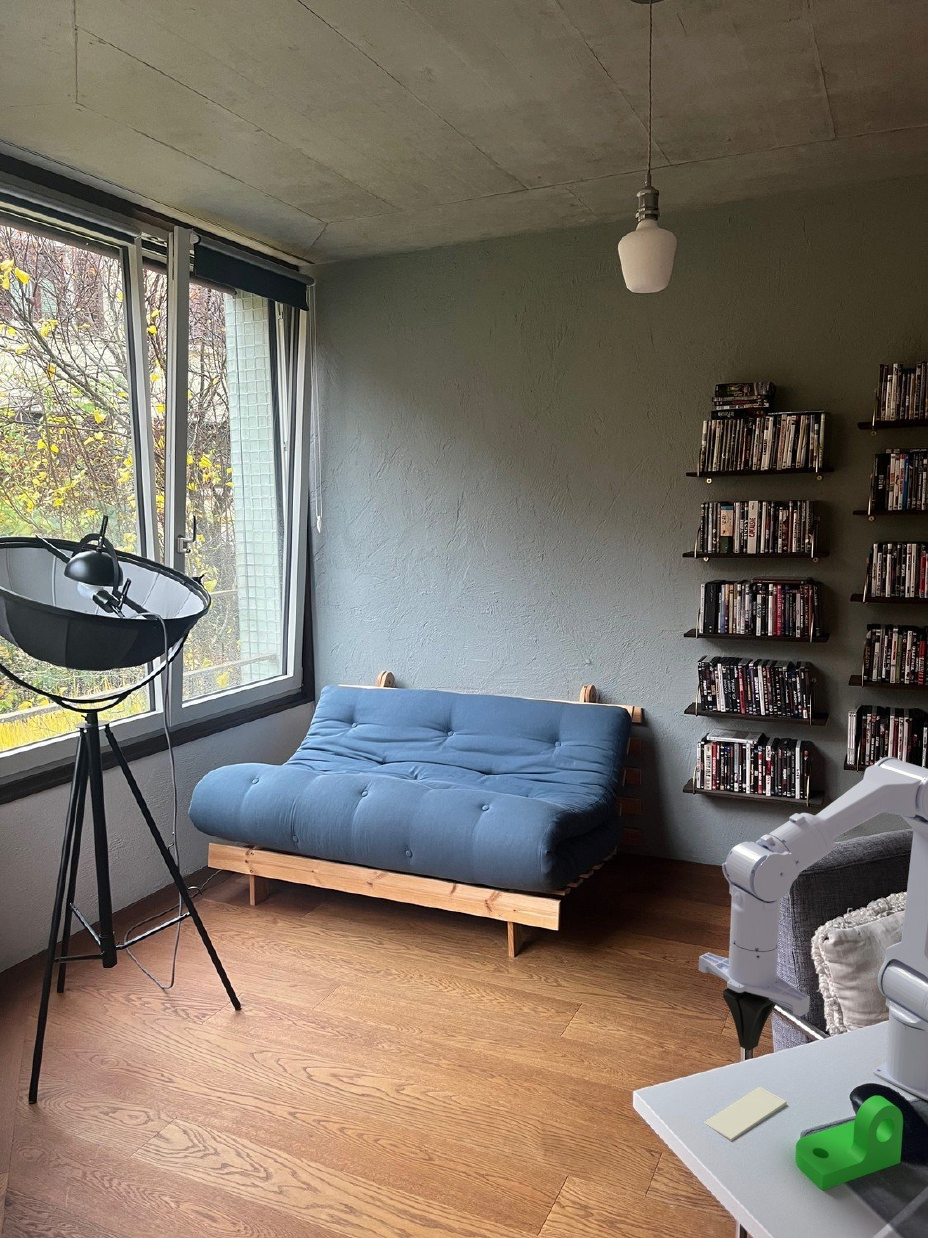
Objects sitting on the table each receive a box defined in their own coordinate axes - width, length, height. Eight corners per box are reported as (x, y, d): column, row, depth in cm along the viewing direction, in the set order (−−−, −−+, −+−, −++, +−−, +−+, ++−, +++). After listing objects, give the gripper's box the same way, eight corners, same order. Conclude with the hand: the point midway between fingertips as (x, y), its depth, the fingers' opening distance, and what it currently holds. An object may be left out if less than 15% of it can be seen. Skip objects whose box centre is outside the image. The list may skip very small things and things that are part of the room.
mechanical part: (860, 1134, 116) (864, 1072, 115) (900, 1164, 110) (904, 1100, 109) (784, 1159, 111) (787, 1095, 110) (821, 1192, 106) (825, 1125, 105)
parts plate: (759, 1092, 124) (759, 1086, 123) (786, 1107, 120) (786, 1101, 120) (703, 1128, 116) (703, 1122, 116) (730, 1145, 113) (730, 1139, 113)
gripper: (685, 929, 119) (681, 1031, 120) (788, 973, 108) (782, 1085, 109) (719, 915, 123) (714, 1014, 125) (821, 956, 112) (815, 1063, 114)
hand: (748, 1046), depth 117 cm, fingers closed
